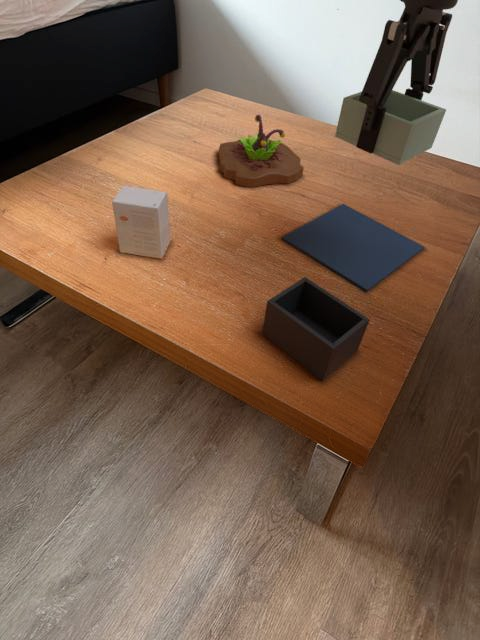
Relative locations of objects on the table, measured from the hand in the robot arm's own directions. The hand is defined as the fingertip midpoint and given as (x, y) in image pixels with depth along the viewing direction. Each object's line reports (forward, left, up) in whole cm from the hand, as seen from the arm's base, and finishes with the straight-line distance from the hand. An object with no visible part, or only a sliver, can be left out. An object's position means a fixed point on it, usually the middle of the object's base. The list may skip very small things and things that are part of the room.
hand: (383, 140), depth 72 cm
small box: (+25, +30, -21) cm, 44 cm away
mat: (+1, -2, -21) cm, 21 cm away
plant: (+35, -10, -21) cm, 42 cm away
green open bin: (0, 0, 0) cm, 0 cm away
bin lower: (-10, +25, -21) cm, 35 cm away
